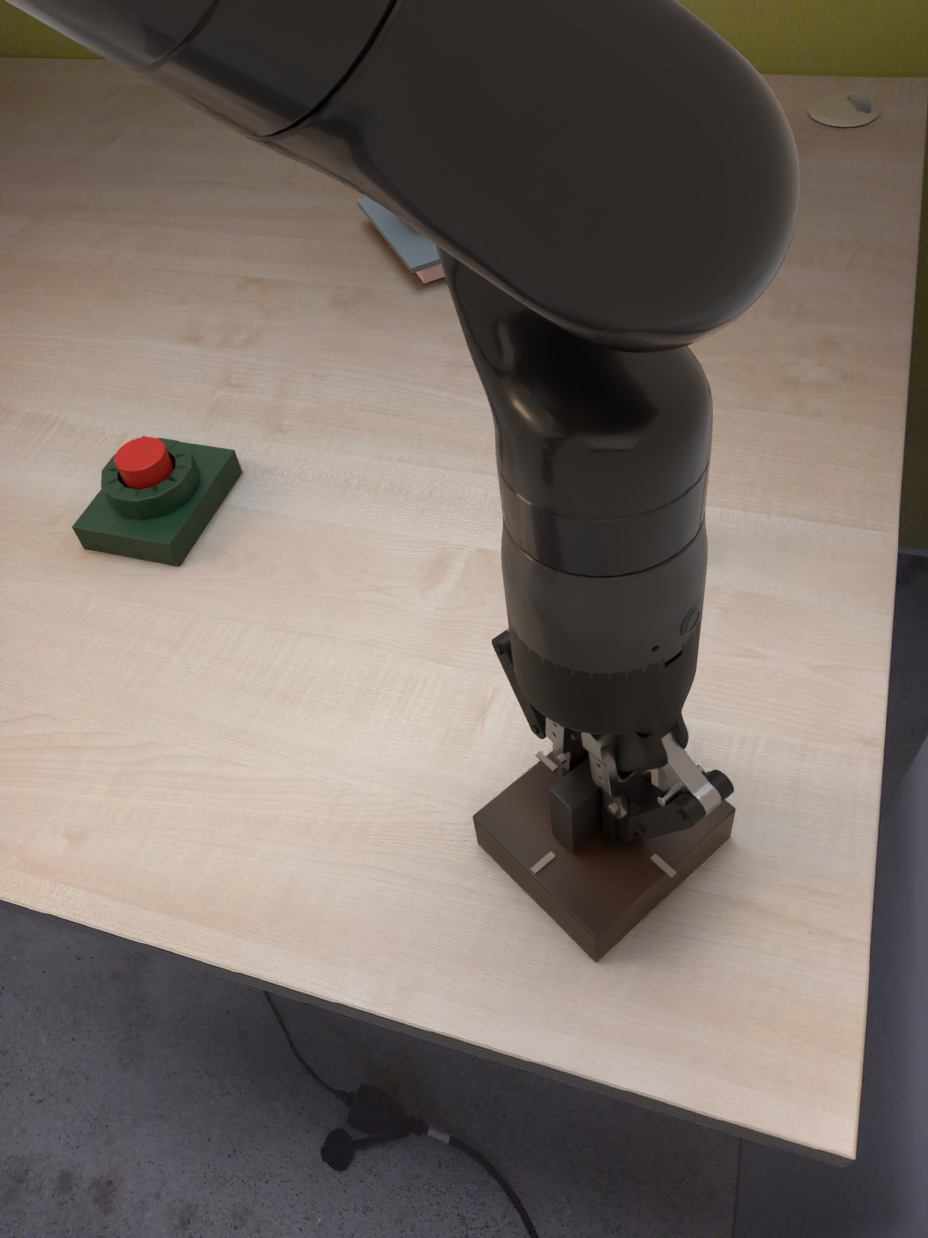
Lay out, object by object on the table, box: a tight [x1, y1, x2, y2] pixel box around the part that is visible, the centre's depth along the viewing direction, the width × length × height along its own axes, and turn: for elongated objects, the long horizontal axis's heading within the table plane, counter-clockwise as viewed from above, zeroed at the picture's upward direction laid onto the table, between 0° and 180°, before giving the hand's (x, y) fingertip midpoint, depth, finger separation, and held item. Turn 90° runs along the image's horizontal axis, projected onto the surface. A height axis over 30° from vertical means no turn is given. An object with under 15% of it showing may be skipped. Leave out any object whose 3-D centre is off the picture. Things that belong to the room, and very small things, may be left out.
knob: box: [549, 757, 604, 854], centre depth 50 cm, size 6×2×5 cm, turn 129°
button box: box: [71, 435, 243, 567], centre depth 74 cm, size 10×8×4 cm
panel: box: [471, 750, 737, 963], centre depth 53 cm, size 10×10×3 cm
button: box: [114, 436, 173, 489], centre depth 72 cm, size 4×4×2 cm
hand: (605, 813), depth 52 cm, fingers closed
